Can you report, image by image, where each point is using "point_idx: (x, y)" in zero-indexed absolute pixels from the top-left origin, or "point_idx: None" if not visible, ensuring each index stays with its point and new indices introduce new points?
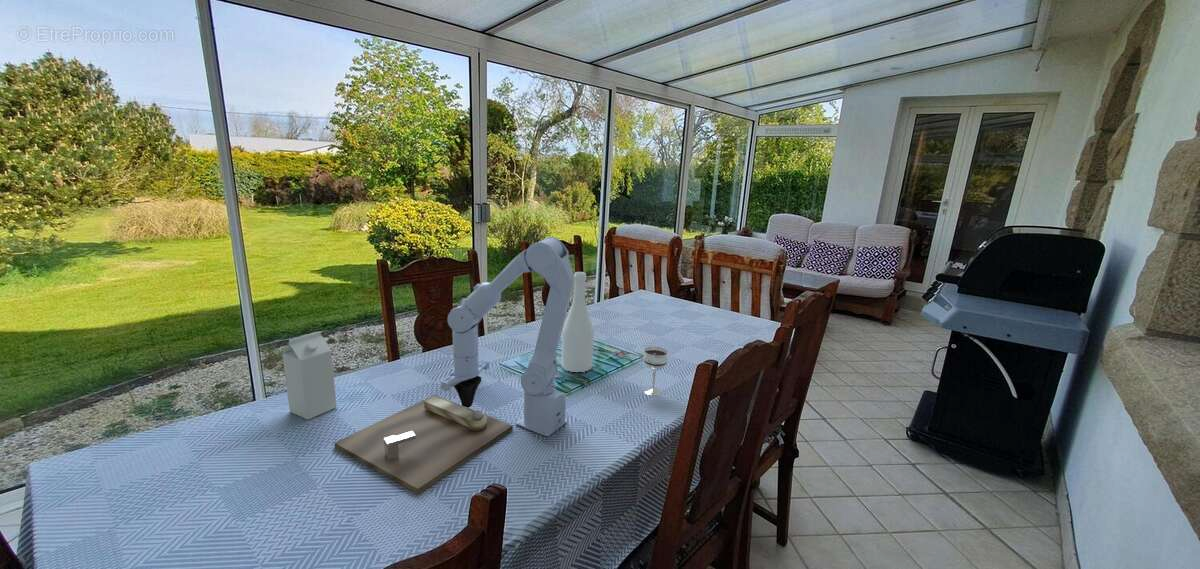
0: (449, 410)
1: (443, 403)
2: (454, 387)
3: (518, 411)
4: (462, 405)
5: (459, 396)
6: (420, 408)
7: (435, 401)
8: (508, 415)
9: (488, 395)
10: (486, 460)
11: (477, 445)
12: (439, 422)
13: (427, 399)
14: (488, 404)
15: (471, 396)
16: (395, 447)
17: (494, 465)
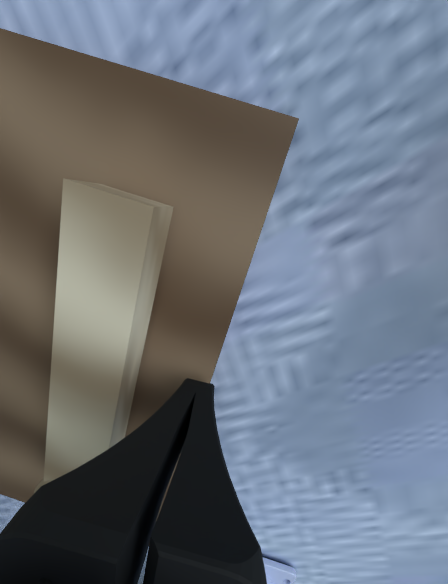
0: (56, 386)
1: (99, 322)
2: (86, 463)
3: (279, 522)
4: (183, 382)
5: (157, 412)
6: (104, 149)
7: (94, 263)
8: (241, 501)
9: (398, 395)
10: (12, 500)
11: (14, 491)
12: (50, 327)
13: (91, 188)
14: (305, 422)
15: (167, 484)
16: None
17: (8, 517)
